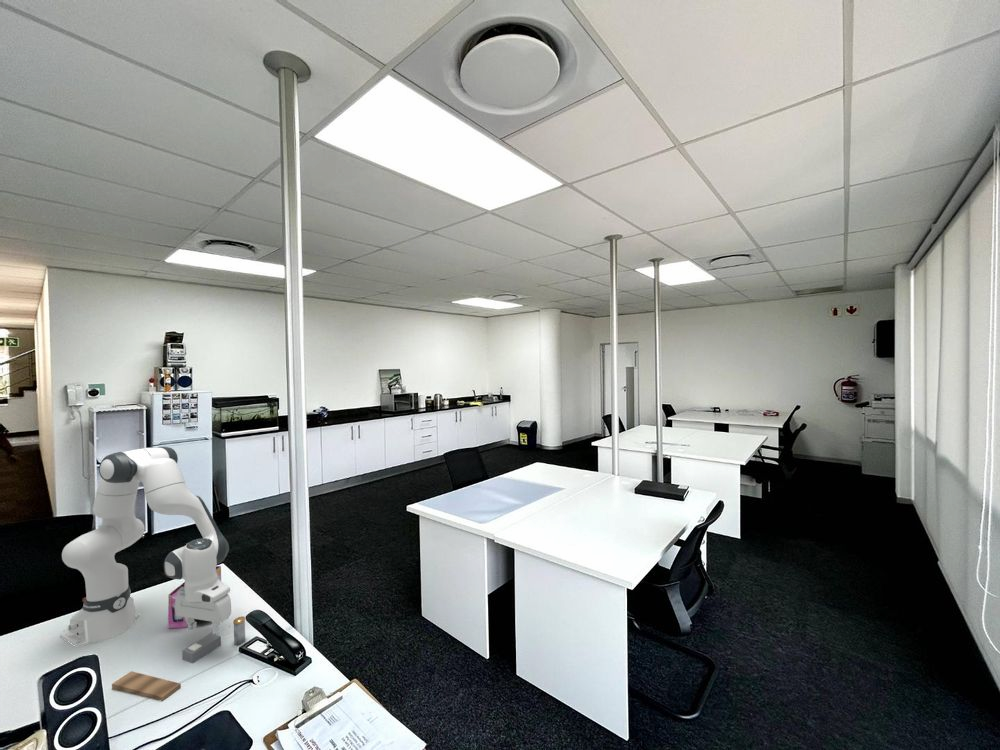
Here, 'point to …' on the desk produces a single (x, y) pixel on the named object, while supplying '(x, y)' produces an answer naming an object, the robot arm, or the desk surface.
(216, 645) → the block
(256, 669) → the desk surface
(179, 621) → the gum box
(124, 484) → the robot arm
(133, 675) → the strip
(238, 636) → the grey metal cylinder
